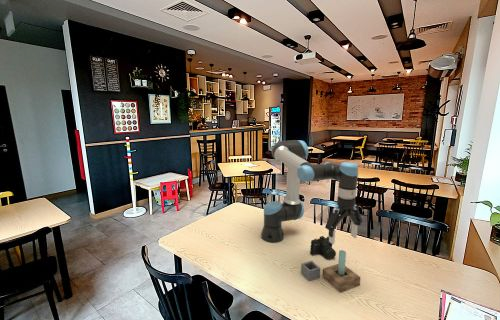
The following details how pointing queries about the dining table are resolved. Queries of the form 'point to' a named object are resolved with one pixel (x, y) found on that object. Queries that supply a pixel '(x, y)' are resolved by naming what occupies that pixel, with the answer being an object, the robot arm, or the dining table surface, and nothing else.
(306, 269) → the pen cup
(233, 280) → the dining table surface
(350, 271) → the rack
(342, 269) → the dowel
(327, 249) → the camera
